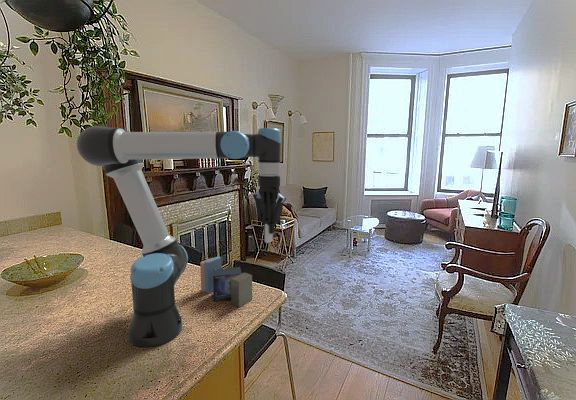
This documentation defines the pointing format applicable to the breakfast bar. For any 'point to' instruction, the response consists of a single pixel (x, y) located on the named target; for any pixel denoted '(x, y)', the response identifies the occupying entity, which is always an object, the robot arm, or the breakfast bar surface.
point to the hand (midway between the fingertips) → (268, 241)
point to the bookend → (241, 289)
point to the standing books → (209, 273)
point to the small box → (223, 282)
